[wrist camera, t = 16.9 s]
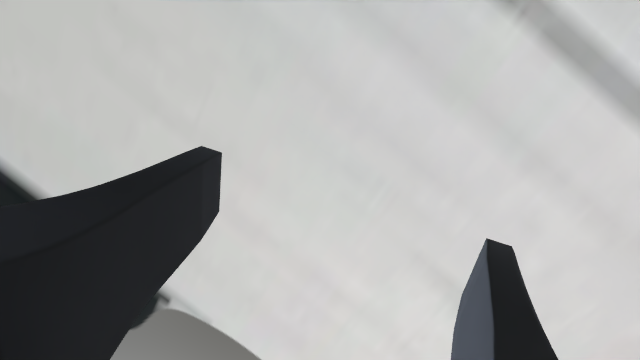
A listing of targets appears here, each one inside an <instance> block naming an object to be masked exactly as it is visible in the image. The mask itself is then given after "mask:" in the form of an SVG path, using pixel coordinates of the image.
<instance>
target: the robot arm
mask: <svg viewBox="0 0 640 360" xmlns="http://www.w3.org/2000/svg"><path fill="white" fill-rule="evenodd" d="M221 159H222V153H221V152H218V151H215V150H212V149H209V148H206V147H203V146H201V147H198V148H195V149H192V150H190V151H187V152H185V153H182V154H180V155H177V156H175V157H172V158H170V159H168V160H165V161H163V162H160V163H158V164H155V165H153V166H150V167H148V168H145V169H143V170H140V171H138V172H135V173H132V174H130V175H127V176H124V177H121V178H118V179H115V180H113V181H110V182H107V183H104V184H101V185H98V186H95V187H91V188H88V189H84V190H81V191H77V192H73V193H69V194H65V195H61V196H57V197H52V198H47V199H41V200H36V201H31V202H26V203H21V204H14V205H7V206H0V360H110V358H111V357H112V355H113V354H114V352H115V351H116V349H117V347H118V346H119V344H120V343H121V341H122V340H123V338H124V336H125V335H126V334H127V332H128V331H129V329H130V328H131V326H132V325H133V323H134V322H135V320H136V319H137V318H138V316H139V315H140V313H141V312H142V310H143V309H144V307H145V306H146V305H147V304H148V302H149V301H150V300H151V299H152V297H153V296H154V295H155V294H156V292H157V291H158V290H159V289H160V288H161V287H162V285H163V284H164V283H165V282H166V281H167V280H168V278H169V277H170V276H171V275H172V274H173V273H174V271H175V270H176V269H177V268H178V267H179V266H180V264H181V263H182V262H183V261H184V260H185V259H186V257H187V256H188V255H189V254H190V253H191V251H192V250H193V249H194V248H195V247H196V245H197V244H198V243H199V242H200V241H201V239H202V238H203V236H204V235H205V233H206V232H207V230H208V229H209V227H210V225H211V224H212V222H213V220H214V219H215V217H216V216H217V214H218V212H219V202H220V180H221ZM451 360H558V358H557V356H556V354H555V352H554V350H553V349H552V347H551V345H550V343H549V340H548V338H547V336H546V334H545V332H544V330H543V328H542V326H541V324H540V321H539V319H538V317H537V314H536V312H535V310H534V307H533V305H532V302H531V300H530V297H529V295H528V292H527V289H526V287H525V284H524V281H523V278H522V275H521V272H520V269H519V266H518V263H517V260H516V256H515V253H514V250H513V248H512V246H509V245H505V244H502V243H499V242H496V241H493V240H490V239H487V238H486V241H485V243H484V245H483V248H482V250H481V252H480V255H479V257H478V259H477V261H476V264H475V266H474V268H473V271H472V273H471V275H470V278H469V280H468V282H467V284H466V287H465V289H464V291H463V294H462V297H461V301H460V305H459V309H458V314H457V318H456V323H455V327H454V334H453V343H452V353H451Z"/></svg>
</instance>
